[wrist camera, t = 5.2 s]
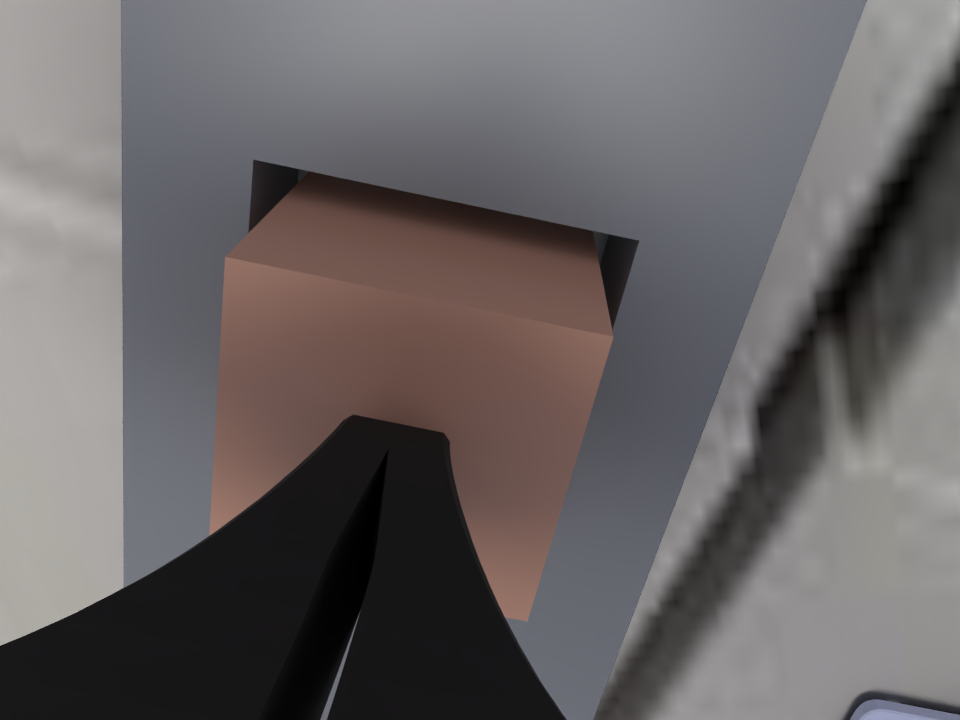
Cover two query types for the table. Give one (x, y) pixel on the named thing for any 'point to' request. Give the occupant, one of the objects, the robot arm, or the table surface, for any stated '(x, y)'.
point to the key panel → (483, 183)
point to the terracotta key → (415, 353)
